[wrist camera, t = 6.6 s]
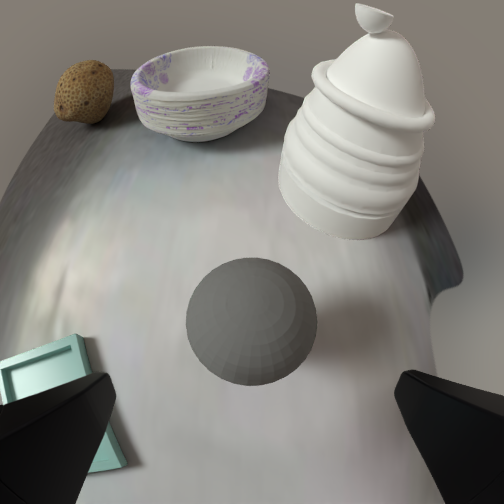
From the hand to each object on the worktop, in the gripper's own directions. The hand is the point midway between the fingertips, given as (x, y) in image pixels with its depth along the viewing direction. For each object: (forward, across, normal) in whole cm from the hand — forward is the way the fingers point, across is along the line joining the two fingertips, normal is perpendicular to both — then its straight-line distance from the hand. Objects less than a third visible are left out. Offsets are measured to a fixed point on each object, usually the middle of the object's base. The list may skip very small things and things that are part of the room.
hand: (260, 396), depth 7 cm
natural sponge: (+31, -22, +14) cm, 40 cm away
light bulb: (+11, 0, -6) cm, 12 cm away
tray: (+5, -15, -11) cm, 20 cm away
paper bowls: (+29, -6, +12) cm, 32 cm away
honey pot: (+22, +9, +5) cm, 24 cm away
